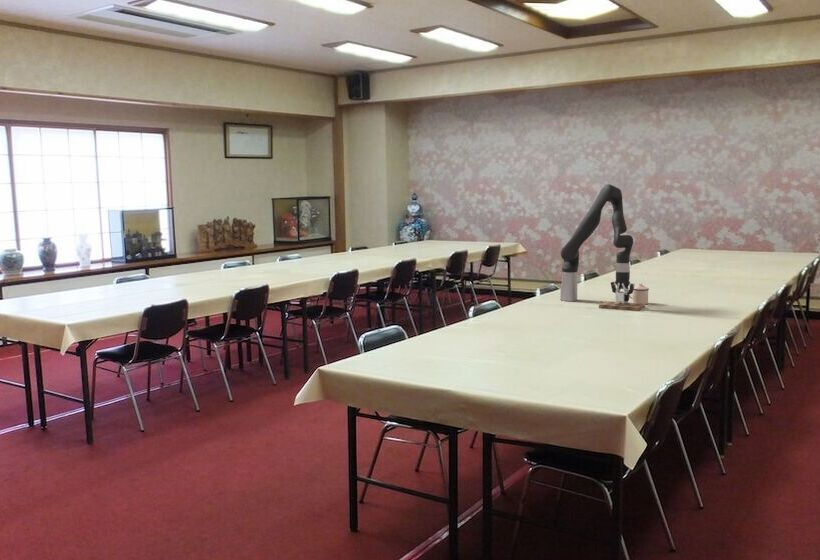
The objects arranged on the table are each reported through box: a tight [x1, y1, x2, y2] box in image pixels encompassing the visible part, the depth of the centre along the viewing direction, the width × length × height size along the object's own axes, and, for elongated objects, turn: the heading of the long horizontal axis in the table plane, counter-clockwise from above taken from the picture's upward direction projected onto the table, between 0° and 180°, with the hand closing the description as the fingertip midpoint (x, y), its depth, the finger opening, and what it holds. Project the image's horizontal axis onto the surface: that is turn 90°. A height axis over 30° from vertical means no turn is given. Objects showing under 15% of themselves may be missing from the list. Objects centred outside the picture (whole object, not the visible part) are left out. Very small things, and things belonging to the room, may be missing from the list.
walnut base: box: [598, 301, 646, 312], centre depth 415 cm, size 22×13×3 cm, turn 59°
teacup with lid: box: [629, 282, 650, 305], centre depth 428 cm, size 12×9×12 cm
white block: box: [615, 290, 629, 304], centre depth 414 cm, size 8×5×6 cm, turn 134°
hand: (622, 300), depth 415 cm, fingers closed on white block, 5 cm apart
